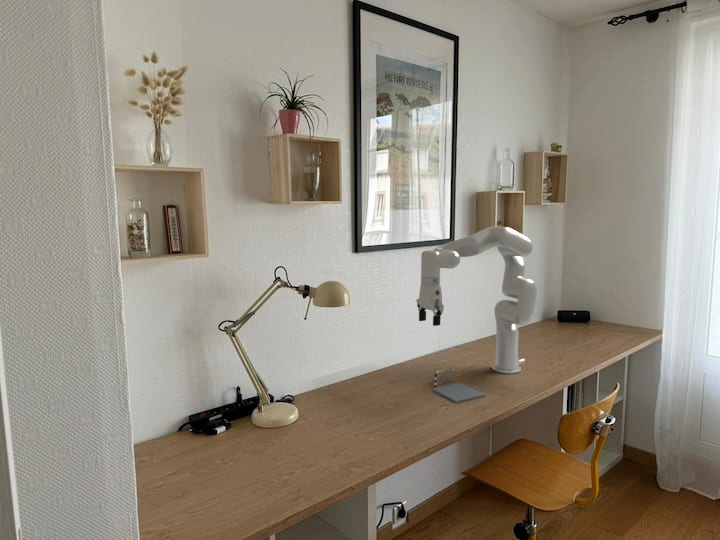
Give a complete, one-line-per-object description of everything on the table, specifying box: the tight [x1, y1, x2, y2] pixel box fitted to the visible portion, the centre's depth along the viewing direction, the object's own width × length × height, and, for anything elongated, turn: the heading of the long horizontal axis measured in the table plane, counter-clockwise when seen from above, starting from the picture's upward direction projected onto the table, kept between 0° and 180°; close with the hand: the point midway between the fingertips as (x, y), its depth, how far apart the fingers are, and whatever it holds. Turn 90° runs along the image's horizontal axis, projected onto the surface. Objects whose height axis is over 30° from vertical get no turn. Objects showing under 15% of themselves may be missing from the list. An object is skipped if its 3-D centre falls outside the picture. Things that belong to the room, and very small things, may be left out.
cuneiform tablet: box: [433, 367, 454, 389], centre depth 211 cm, size 6×4×12 cm
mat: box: [431, 382, 486, 404], centre depth 199 cm, size 14×15×1 cm
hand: (429, 323), depth 205 cm, fingers open, 9 cm apart
